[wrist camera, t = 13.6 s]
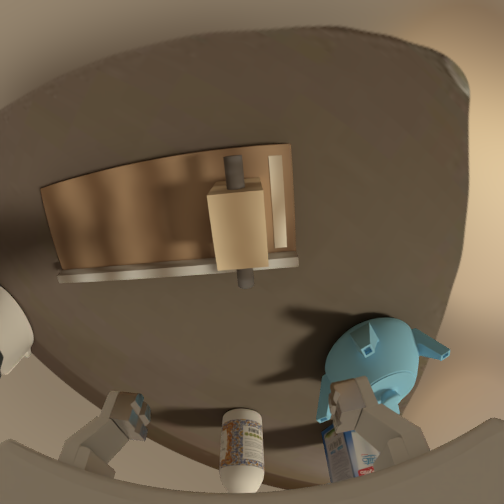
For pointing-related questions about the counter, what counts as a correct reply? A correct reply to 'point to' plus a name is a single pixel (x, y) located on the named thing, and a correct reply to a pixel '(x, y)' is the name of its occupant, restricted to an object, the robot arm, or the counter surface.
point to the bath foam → (241, 451)
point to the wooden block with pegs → (238, 222)
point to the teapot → (378, 360)
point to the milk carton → (347, 454)
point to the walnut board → (163, 215)
